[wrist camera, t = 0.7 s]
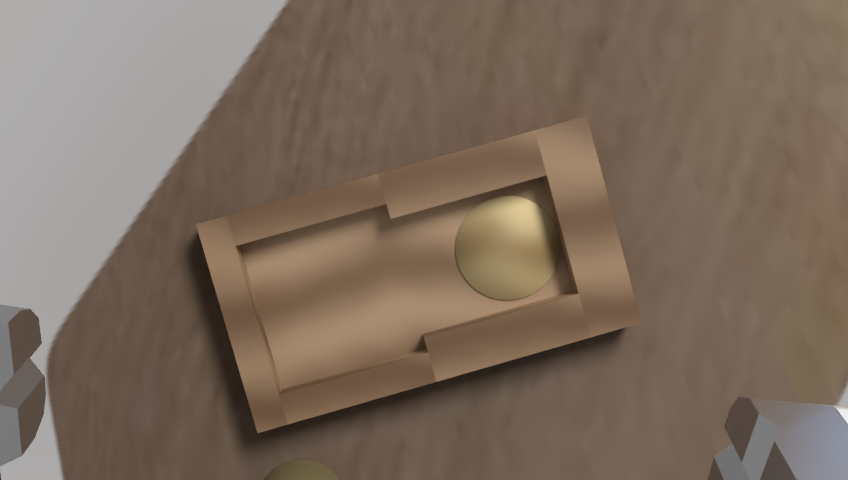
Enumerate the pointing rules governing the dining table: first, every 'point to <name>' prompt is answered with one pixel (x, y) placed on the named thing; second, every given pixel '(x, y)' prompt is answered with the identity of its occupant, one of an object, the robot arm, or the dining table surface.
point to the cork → (302, 471)
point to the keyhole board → (419, 273)
